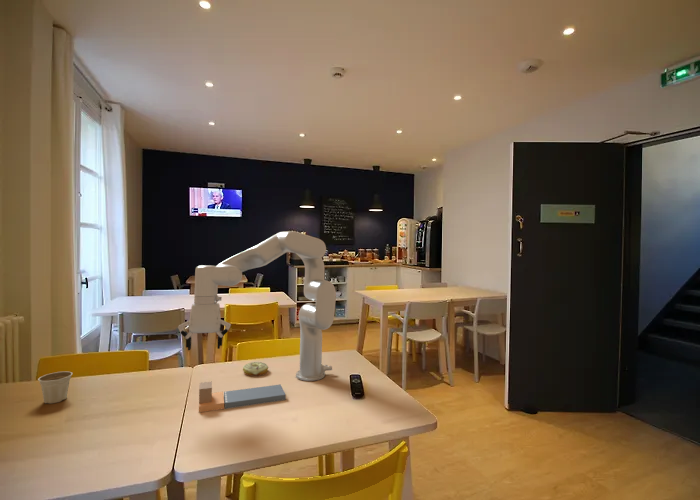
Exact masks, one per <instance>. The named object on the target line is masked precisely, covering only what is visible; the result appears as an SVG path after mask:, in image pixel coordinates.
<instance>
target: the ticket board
mask: <svg viewBox="0 0 700 500" xmlns="http://www.w3.org/2000/svg"><path fill="white" fill-rule="evenodd" d="M223 396H224V409H225V410H226V409H227V410H228V409H232V408H233V409H234V408H239V407H241V408H242V407H246V406H247V407H248V406H254V405H259V404H261V405H262V404H267V403H272V402H273V403H274V402H275V403H276V402H281V401H286V400H287V399H286V397H287V395H286V392H285V390H284V388H283V386H282V385H281V384H274V385H273V384H272V385H265V386H259V387H249V388H243V389H233V390H227V391H226V390H225V391H223Z"/></svg>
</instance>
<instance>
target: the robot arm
mask: <svg viewBox="0 0 700 500" xmlns="http://www.w3.org/2000/svg"><path fill="white" fill-rule="evenodd" d="M326 246H327V245H326V243H325V242H324V240H322V239H320V238H319V237H314V236H311V235H308V234H304V233H301V232H299V231H294V230H287V231H285V230H284V231H279V232H277V233H276V234H273V235H272V236H270V237H268V238H267V239H265V240H263V241H261V242H260V243H258V244H256V245H254V246H252V247H250V248H247V249H246V250H244V251H241V252H239V253H237V254H235V255H233V256H231V257H229V258H226V259H225V260H223V261H222V262H220V263H218V264H217V265H210V264H209V265H206V264H205V265H203V264H201V265H198V266H196V267H195V272H194V297H193V298H194V301H193V303H192V304H191V308H190V312H189V320H187V321H185V322H183V323H181V324H179V325H178V326H177V329H178V331H179V332H180V334H181V335H182V336H183V337H184V338H185V348H187V351H190V350H191V349H192V335H194V334H210V333H211V334H213V333H215V334H216V335H218V337H217V349H218V350H220V348H221V346H223V337H224V336H225V335H226V334H227V333H228V332H229V330H230V328H231V326H232V324H231V323H230V322H227V321H226V320H223V319H221V318H222V317H221V306H220V303H218V302H220V301H222V296H219V295H218V288H219V287H218V286H226V287H232V286H237V285H238V284H239V283H240V282H241V281H242V278H243V272H246V271H248V270H252V269H256V268H261V267H264V266H267V265H268V264H270V263H271V262H274V260H277V259H278V258H279V257H281V256H283V255H285V254H286V253H293V254H296V255H297V256H298V257H299V258H300V259H301V260H302V262H303V264H304V282H303V296H304V297H305V298H306V299H308V301H314V302H315V303H312V302H308V303H305V304H303V305H302V306H301V307H300V308H299V311H298V322H299V323H298V324H299V329H300V330H299V331H300V333H299V334H300V336H299V339H300V340H299V341H300V343H299V370H298V371H296V373H295V378H297V379H298V380H300V381H305V382H312V381H313V382H315V381H319V380H322V379H323V378H325V375H326V371H333V366H332V365H328V364H324V365H323V363H322V359H323V355H322V354H323V330H324V331H325V330H328V329H329V328H330V327H331V326H332V325H333V323H334V320H335V319H334V318H335V312H336V299H337V292H336V288H335V286H334V284H333V283H332V282H331V281H328V280H326V279H325V263H324V260H323V257H324V255H326V251H327V247H326ZM187 326H188V332H187V331H186V330H185V327H187ZM221 326H225V327H224V329H222V330H221Z"/></svg>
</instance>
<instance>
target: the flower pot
mask: <svg viewBox="0 0 700 500" xmlns="http://www.w3.org/2000/svg"><path fill="white" fill-rule="evenodd" d="M72 375H73V372H71V371H57V372H52V373H47V374H44V375H42V376H40V377H39V378H37V381H38V382H39V384H40V387H41V392H42V399H43V402H44V404H56V403H60V402H62V401H64V400H66V399H67V397H68V390H69V385H70V380H71V379H72Z"/></svg>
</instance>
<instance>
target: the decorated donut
mask: <svg viewBox="0 0 700 500" xmlns="http://www.w3.org/2000/svg"><path fill="white" fill-rule="evenodd" d="M268 370H269V366H268V364H267V363H264V362H261V361H252V362H249V363H246V364H244V365H243V366H242V371H243V373H244V374H245V375H246V376H249V377H253V376H255V377H256V376H257V377H259V376H264V375H266V374H267V373H268Z"/></svg>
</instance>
